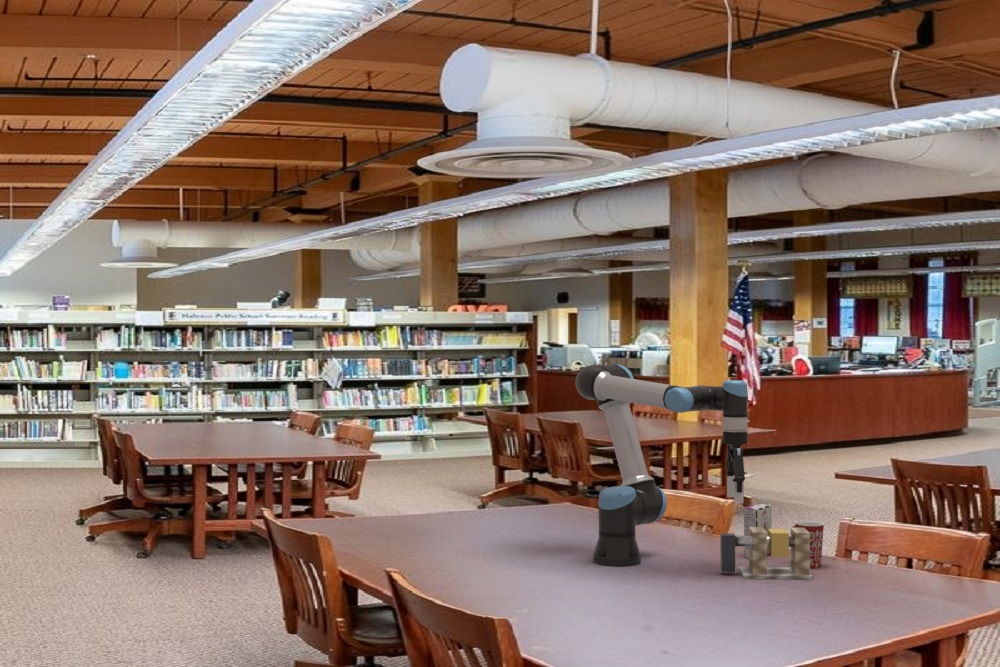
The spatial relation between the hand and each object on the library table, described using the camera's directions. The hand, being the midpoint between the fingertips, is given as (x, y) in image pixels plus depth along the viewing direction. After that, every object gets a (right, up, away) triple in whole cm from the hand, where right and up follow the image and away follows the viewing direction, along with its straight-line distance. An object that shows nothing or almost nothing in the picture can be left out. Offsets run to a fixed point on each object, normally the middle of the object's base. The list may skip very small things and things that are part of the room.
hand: (735, 500), depth 364 cm
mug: (+24, -22, +9) cm, 34 cm away
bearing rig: (+10, -22, -6) cm, 25 cm away
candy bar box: (+12, -22, +24) cm, 34 cm away
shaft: (+7, -21, -6) cm, 23 cm away
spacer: (+12, -16, -6) cm, 21 cm away
